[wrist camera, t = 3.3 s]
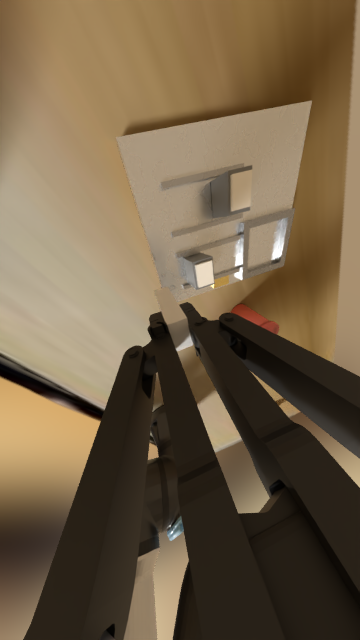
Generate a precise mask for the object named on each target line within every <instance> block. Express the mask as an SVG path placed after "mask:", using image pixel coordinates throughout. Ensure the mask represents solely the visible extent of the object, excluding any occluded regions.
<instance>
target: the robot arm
mask: <svg viewBox="0 0 360 640" xmlns="http://www.w3.org/2000/svg"><path fill="white" fill-rule="evenodd" d="M154 293H155V296H156V298H157V301H158V304H159V307H160V310H161V312H158V313H155V314H152V315H150V318H149V321H150V326H149V327H148V332H149V334H150V337H151V339H152V340H151V341H150V342H149V343H148V344H147V345H146V346H144V347H143V348H142V347H141V346H133V347H131V348H129V349H128V350H127V351H126V352H125V354H124V356H123V359H122V362H121V365H120V367H119V370H118V373H117V376H116V379H115V382H114V385H113V388H112V391H111V393H110V396H109V399H108V402H107V405H106V408H105V411H104V414H103V417H102V420H101V422H100V426H99V428H98V431H97V434H96V437H95V440H94V443H93V446H92V449H91V451H90V454H89V457H88V460H87V463H86V466H85V469H84V472H83V475H82V477H81V480H80V483H79V486H78V489H77V492H76V495H75V498H74V501H73V503H72V507H71V509H70V512H69V515H68V518H67V521H66V524H65V527H64V530H63V532H62V536H61V538H60V541H59V544H58V547H57V550H56V553H55V556H54V559H53V561H52V564H51V567H50V570H49V573H48V576H47V579H46V582H45V585H44V587H43V590H42V593H41V596H40V599H39V602H38V605H37V608H36V611H35V613H34V616H33V619H32V622H31V625H30V627H29V629H28V631H27V633H26V635H25V637H24V639H23V640H157V629H156V613H155V598H154V583H153V571H154V566H155V563H156V560H157V557H158V555H159V552H160V549H159V537H158V536H159V534H160V533H162V532H164V531H166V530H167V535H168V537H169V540H170V541H171V540H173V539H174V538H176V537H177V536H178V535H179V534H181V533H182V532H183V531H184V535H185V540H186V546H187V552H188V558H189V562H188V565H187V568H186V571H185V575H184V579H183V583H182V587H181V592H180V598H179V604H178V610H177V616H176V622H175V628H174V635H173V640H360V488H359V487H358V485H357V484H356V483H355V482H354V481H353V480H352V479H351V477H349V475H348V474H347V473H346V472H345V471H344V470H343V468H342V467H341V466H340V465H339V464H338V463H337V462H336V460H335V459H334V458H333V457H332V456H331V455H330V454H329V452H328V451H327V450H326V449H325V448H324V447H323V446H322V444H321V443H320V442H319V441H318V440H317V439H316V438H315V437H314V436H313V435H312V434H311V433H310V432H309V431H308V430H307V429H306V428H304V427H303V426H301V425H299V424H296V423H294V422H293V421H292V420H290V419H289V418H288V416H287V415H286V414H285V413H284V412H283V411H282V409H281V408H280V407H279V406H278V404H277V403H276V402H275V401H274V400H273V398H272V397H271V396H270V395H269V394H268V392H267V391H266V390H265V389H264V388H263V386H262V385H261V384H260V383H259V381H258V380H257V379H256V378H255V377H254V375H253V374H252V373H251V372H253V373H254V374H255V375H256V376H257V377H259V378H260V379H261V380H262V381H264V382H265V383H266V384H267V385H269V386H270V387H271V388H272V389H274V390H275V391H276V392H277V393H278V394H280V395H281V396H282V397H283V398H285V399H286V400H287V401H288V402H290V403H291V404H292V405H293V406H295V407H296V408H297V409H298V410H299V411H301V412H302V413H303V414H305V415H306V416H307V417H308V418H309V419H311V420H312V421H313V422H314V423H316V424H317V425H318V426H319V427H321V428H322V429H323V430H324V431H326V432H327V433H328V434H329V435H330V436H332V437H333V438H334V439H335V440H337V441H338V442H339V443H340V444H342V445H343V446H344V447H345V448H347V449H348V450H349V451H351V452H352V453H353V454H354V455H356V456H357V457H358V458H360V377H359V376H357V375H355V374H353V373H351V372H350V371H347V370H346V369H344V368H342V367H340V366H338V365H336V364H334V363H332V362H330V361H328V360H326V359H324V358H322V357H320V356H318V355H316V354H314V353H312V352H310V351H308V350H306V349H304V348H302V347H300V346H298V345H296V344H294V343H292V342H290V341H288V340H286V339H284V338H282V337H280V336H278V335H276V334H274V333H272V332H270V331H268V330H266V329H265V328H263V327H261V326H259V325H257V324H255V323H253V322H251V321H249V320H247V319H245V318H243V317H241V316H239V315H237V314H234V313H224V314H222V315H221V316H220V317H219V320H214V321H208V320H207V319H206V318H205V317H201V316H200V314H199V313H198V312H197V311H196V310H195V308H194V307H193V305H192V304H190V303H188V302H186V303H183V304H180V305H179V304H178V303H177V301H176V299H175V298H174V296H173V295H172V293H171V291H170V290H169V288H168V286H167V287H164V288H161V289H158V290H154ZM193 343H194V346H195V350H196V355H197V356H199V358H200V360H201V361H202V363H203V365H204V367H205V369H206V371H207V373H208V375H209V377H210V379H211V381H212V382H213V384H214V386H215V388H216V390H217V392H218V394H219V396H220V398H221V400H222V402H223V403H224V405H225V407H226V409H227V411H228V413H229V415H230V417H231V419H232V421H233V423H234V425H235V426H236V428H237V430H238V432H239V434H240V436H241V438H242V440H243V442H244V444H245V446H246V447H247V449H248V451H249V453H250V455H251V458H252V460H253V463H254V466H255V469H256V471H257V473H258V475H259V477H260V479H261V481H262V483H263V485H264V487H265V489H266V491H267V493H268V495H269V497H270V499H269V500H268V501H267V503H266V504H265V505H264V507H263V508H262V509H261V511H260V512H259V513H242V514H238V512H237V509H236V507H235V504H234V501H233V499H232V496H231V494H230V491H229V488H228V486H227V483H226V480H225V478H224V475H223V472H222V470H221V467H220V465H219V462H218V460H217V457H216V455H215V452H214V450H213V447H212V444H211V441H210V439H209V436H208V433H207V431H206V428H205V425H204V423H203V420H202V417H201V415H200V412H199V409H198V407H197V404H196V401H195V399H194V396H193V393H192V391H191V388H190V385H189V383H188V380H187V377H186V375H185V372H184V369H183V367H182V364H181V361H180V359H179V356H178V353H177V351H179V350H182V349H185V348H187V347H190V346H193ZM249 370H250V371H251V372H250V371H249ZM157 372H158V375H159V380H160V385H161V391H162V396H163V401H164V406H162V407H160V408H158V409H157V410H155V411H154V412H153V413H152V410H153V400H154V390H155V380H156V373H157ZM150 431H151V433H152V436H153V438H154V440H155V443H156V445H157V448H158V455H159V457H158V458H154V459H151V460H148V451H149V440H150Z"/></svg>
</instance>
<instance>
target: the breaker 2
mask: <svg viewBox="0 0 360 640" xmlns="http://www.w3.org/2000/svg"><path fill="white" fill-rule="evenodd" d="M251 186H252V165H250V166H246V167H242V168H238V169H233V170H229V171H227V172H225V173H223V174H222V175H220V176H218V177H217V178H215V179H214V180H212V181H211V194H212V209H213V218H220V217H227V216H231V215H235V214H238V213H242V212H246V211H249V210H250V204H251Z"/></svg>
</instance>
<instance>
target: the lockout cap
mask: <svg viewBox="0 0 360 640" xmlns="http://www.w3.org/2000/svg"><path fill="white" fill-rule="evenodd" d="M231 313H234V314H237V315H239V316H241V317H243V318H245V319H247V320H249V321H251V322H253V323H255V324H257V325H259V326H261V327H263V328H265V329H266V330H268V331H270V332H272V333H274V334H276V335H277V333H278V331H279V325H278V324H276V323H275V322H273V321H269V320H267V319H266V318H264V317H263V316H261V315H259V314H258V313H256V312H255V311H253V310H252V309H250V308H249V307H247V306H246V305H244V304H239V305H237V306H235V307H234V308H233V309H232V311H231Z"/></svg>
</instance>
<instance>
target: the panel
mask: <svg viewBox="0 0 360 640" xmlns="http://www.w3.org/2000/svg"><path fill="white" fill-rule="evenodd" d="M311 103H312V101H306V102H301V103H296V104H290V105H285V106H280V107H275V108H269V109H264V110H259V111H253V112H248V113H243V114H237V115H232V116H227V117H221V118H216V119H211V120H206V121H200V122H195V123H190V124H184V125H179V126H174V127H168V128H163V129H158V130H152V131H147V132H142V133H136V134H131V135H126V136H121V137H116V140H117V147H118V150H119V153H120V156H121V160H122V163H123V166H124V169H125V172H126V176H127V179H128V182H129V185H130V189H131V192H132V195H133V198H134V201H135V205H136V208H137V211H138V214H139V218H140V221H141V224H142V227H143V230H144V234H145V237H146V240H147V243H148V247H149V250H150V253H151V256H152V259H153V263H154V266H155V269H156V272H157V276H158V279H159V282H160V285H161V288H164V287H167V286H168V288H169V290H170V291H171V293H172V295H173V296H174V298H175V299H176V301H177V302H179V301H181V300H184V299H187V298H190V297H193V296H196V295H199V294H202V293H205V292H208V291H211V290H214V289H217V288H220V287H223V286H226V285H229V284H232V283H235V282H238V281H241V280H244V279H247V278H250V277H253V276H256V275H259V274H262V273H265V272H268V271H271V270H273V269H276V268H279V267H282V266H284V262H285V257H286V252H287V247H288V242H289V237H290V232H291V227H292V222H293V217H294V211H295V208H292V206H293V200H294V195H295V189H296V184H297V179H298V173H299V168H300V163H301V157H302V152H303V146H304V141H305V136H306V130H307V125H308V120H309V114H310V109H311ZM250 165H252V186H251V204H250V210H249V211H246V212H242V213H238V214H235V215H231V216H227V217H220V218H213V209H212V194H211V181H212V180H214V179H215V178H217V177H218V176H220V175H222V174H223V173H225V172H227V171H229V170H233V169H238V168H242V167H246V166H250ZM198 253H204V254H207V255H210V256H213V268H214V281H215V284H213V285H210V286H207V287H204V288H201V289H198V290H196V289H195V288H194V287H193V286H191V285H190V284H189V283H188V281H187V275H186V270H185V265H184V260H183V258H185V257H188V256H191V255H195V254H198Z"/></svg>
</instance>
